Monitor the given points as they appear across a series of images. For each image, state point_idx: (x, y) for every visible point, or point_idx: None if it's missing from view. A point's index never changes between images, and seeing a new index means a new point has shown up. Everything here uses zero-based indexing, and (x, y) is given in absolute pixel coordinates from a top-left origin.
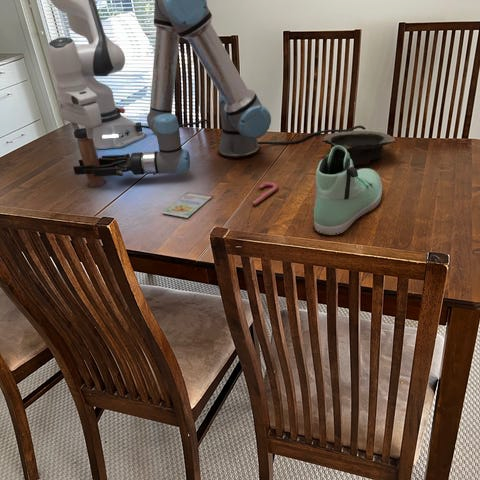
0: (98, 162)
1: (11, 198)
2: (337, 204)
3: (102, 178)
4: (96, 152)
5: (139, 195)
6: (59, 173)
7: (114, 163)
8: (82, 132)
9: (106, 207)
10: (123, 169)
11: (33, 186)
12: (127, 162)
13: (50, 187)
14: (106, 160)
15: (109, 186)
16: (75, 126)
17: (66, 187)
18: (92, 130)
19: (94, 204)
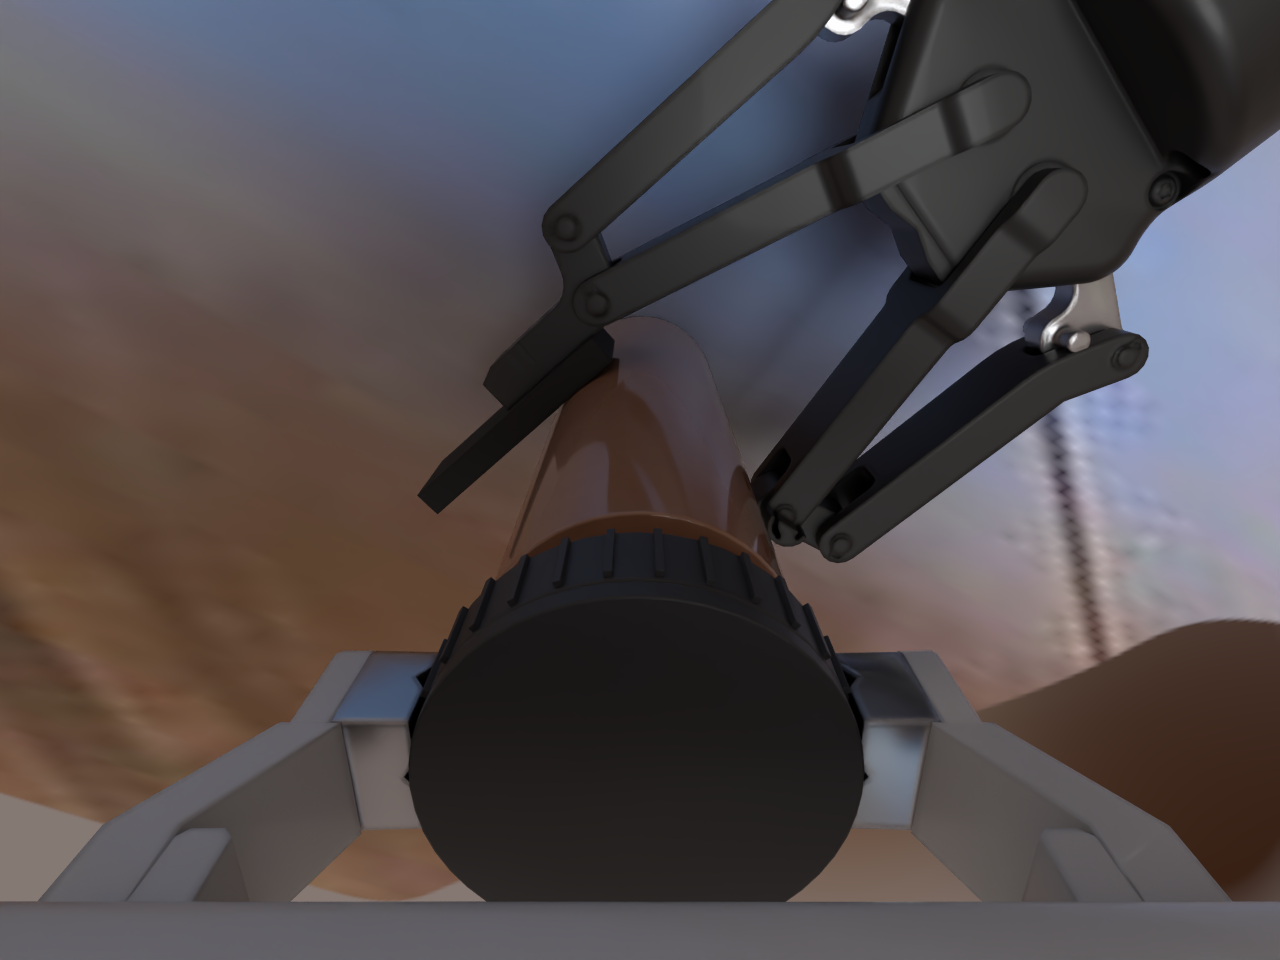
0: (718, 407)
1: (342, 862)
2: None
3: (703, 358)
4: (720, 437)
5: (1219, 303)
6: (112, 462)
7: (978, 322)
8: (749, 848)
9: (1091, 586)
10: (1110, 294)
11: (245, 708)
12: (1079, 154)
13: (374, 647)
14: (707, 273)
15: (802, 351)
16: (278, 841)
17: (483, 578)
18: (1066, 781)
19: (963, 609)
